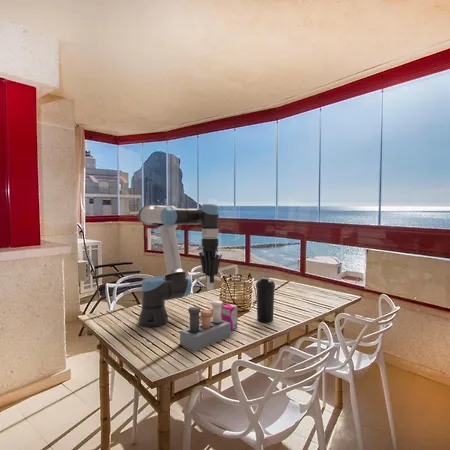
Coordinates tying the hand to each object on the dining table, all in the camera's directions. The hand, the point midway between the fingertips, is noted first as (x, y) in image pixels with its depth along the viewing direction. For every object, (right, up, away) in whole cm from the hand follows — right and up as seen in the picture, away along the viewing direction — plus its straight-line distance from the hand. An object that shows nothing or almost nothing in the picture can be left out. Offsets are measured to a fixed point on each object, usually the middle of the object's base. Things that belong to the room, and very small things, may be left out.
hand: (210, 289), depth 133 cm
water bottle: (+29, -22, +24) cm, 43 cm away
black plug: (-6, -16, -6) cm, 18 cm away
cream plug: (+3, -16, +4) cm, 17 cm away
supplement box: (+9, -22, +12) cm, 27 cm away
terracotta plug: (-2, -19, -1) cm, 19 cm away
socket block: (-2, -23, -1) cm, 23 cm away
